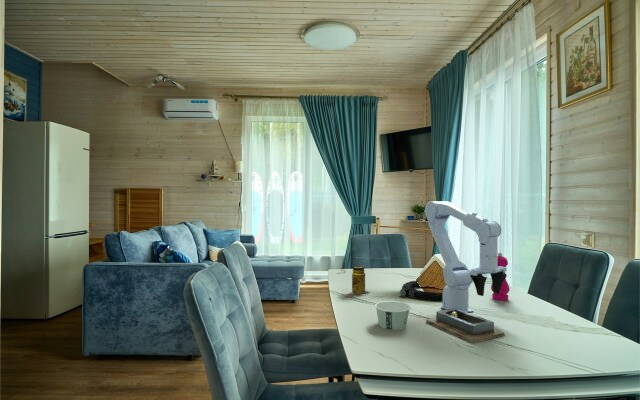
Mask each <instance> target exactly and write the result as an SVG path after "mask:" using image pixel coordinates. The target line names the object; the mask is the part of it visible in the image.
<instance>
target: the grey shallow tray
mask: <svg viewBox="0 0 640 400" xmlns="http://www.w3.org/2000/svg"><path fill="white" fill-rule="evenodd" d="M452 312H456V313H457V318H456V317H454V316H451V313H452ZM435 313H436V314H435V316H436V317H435V318H436V320H437V321H439V322H442V323H444V324H446V325H449V326H451V327H453V328H456V329H458V330H460V331H463V332H465V333H468V334H470V335H472V336H475V335H480V334H484V333H489V332H494V329H495V322H494V321H492V320H490V319H486V318H484V317H482V316H479V315H475V314H473V313H471V312H465V311H462V310H459V309H449V310H447V309H444V310H439V311H435Z"/></svg>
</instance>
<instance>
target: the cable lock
mask: <svg viewBox="0 0 640 400" xmlns="http://www.w3.org/2000/svg"><path fill="white" fill-rule="evenodd" d="M416 288H417V289H416ZM418 288H421V287H420V286H419V284H418V283H417V280H411V281H407V282H405V283H403V285H402V286H401V289H400V291H399V292H400V295H401V297H403V298H408V297H409V298H413V299H414V298H415V299H420V300H423V301H424V300H425V301H439V302H440V301H442V302H443V294H442V293H441V292H437V291H436V292H434V291H424V290H420V289H418Z"/></svg>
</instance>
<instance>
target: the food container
mask: <svg viewBox="0 0 640 400" xmlns="http://www.w3.org/2000/svg"><path fill="white" fill-rule="evenodd" d="M374 307H375V309H376V314H377V315H376V316H377V320H378V321H377V322H378V326H379V327H381V328H383V329H386V330H394V331H397V330H403V329H405V328H407V324H408V319H409V313H410V310H411V306H410V305H409V304H408V303H405V302H401V301H393V300H392V301H391V300H389V301H388V300H387V301H378V302H377V303H375V304H374Z"/></svg>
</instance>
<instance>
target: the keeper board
mask: <svg viewBox="0 0 640 400" xmlns="http://www.w3.org/2000/svg"><path fill="white" fill-rule="evenodd" d="M451 316H454V317H456V318H457V313H456V312H452V313H451ZM425 322H426V324H428V323H429V325H431V326H433V325H434V326H433V327H435V326H436V328H437V327H438V328H437V329H440V330H442V331H444V332H446V331H447V333H448V332H449V333H448V334H451V335H454V336H455V337H457V336H458V338H460V339H462V340H464V341H466V340H467V342H469V343H471V344H474V343H477V341H478V342H482V341H481V340H483V341H487V340H491V339H490V338H492V339H495V338H500V337H505V336H506V335H505V332H504V331H502V330H499V329H496V328H494V332H489V333H484V334H480V335H475V336H472V335H470V334H468V333H465V332H463V331H460V330H458V329H456V328H453V327H451V326H449V325H446V324H444V323H442V322H439V321H437V320H436V317H433V318H428V319H425ZM486 339H487V340H486Z"/></svg>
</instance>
